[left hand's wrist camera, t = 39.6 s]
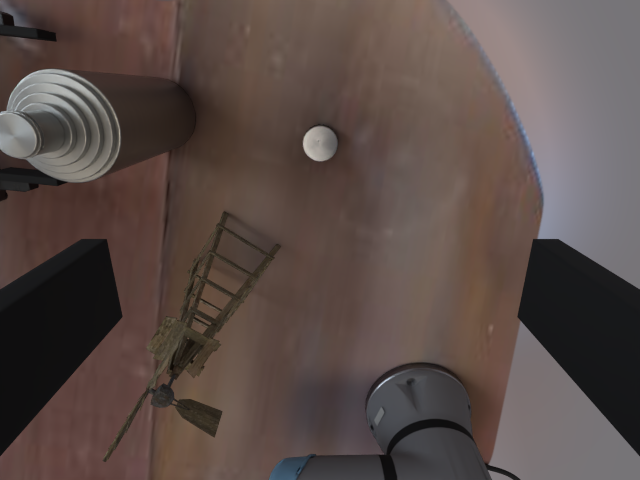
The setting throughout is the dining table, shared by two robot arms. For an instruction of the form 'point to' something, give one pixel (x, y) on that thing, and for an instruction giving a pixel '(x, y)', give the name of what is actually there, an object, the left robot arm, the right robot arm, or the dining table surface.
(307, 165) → the dining table surface
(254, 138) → the dining table surface
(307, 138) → the cap
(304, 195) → the dining table surface
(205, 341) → the miniature windmill
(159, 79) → the bottle
